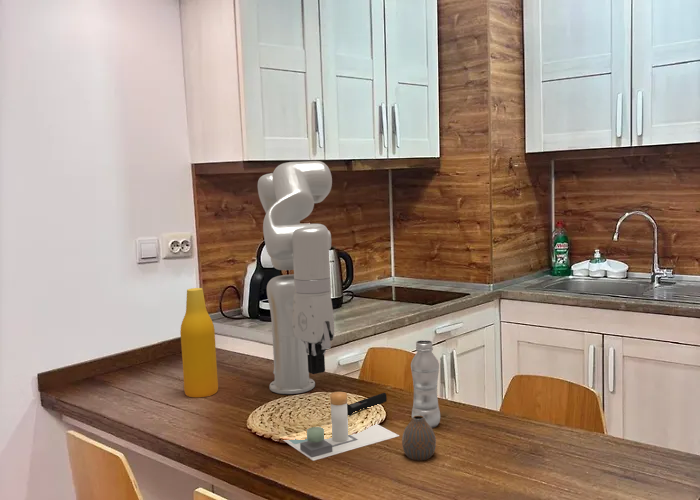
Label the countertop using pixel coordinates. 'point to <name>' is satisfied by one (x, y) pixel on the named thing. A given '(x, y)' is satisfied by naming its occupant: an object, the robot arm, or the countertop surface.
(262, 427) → the countertop surface
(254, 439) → the countertop surface
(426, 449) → the vase
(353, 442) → the sheet
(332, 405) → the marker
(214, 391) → the beer bottle
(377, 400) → the electric trimmer
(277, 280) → the robot arm
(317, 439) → the button
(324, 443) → the button housing
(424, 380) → the plastic bottle
